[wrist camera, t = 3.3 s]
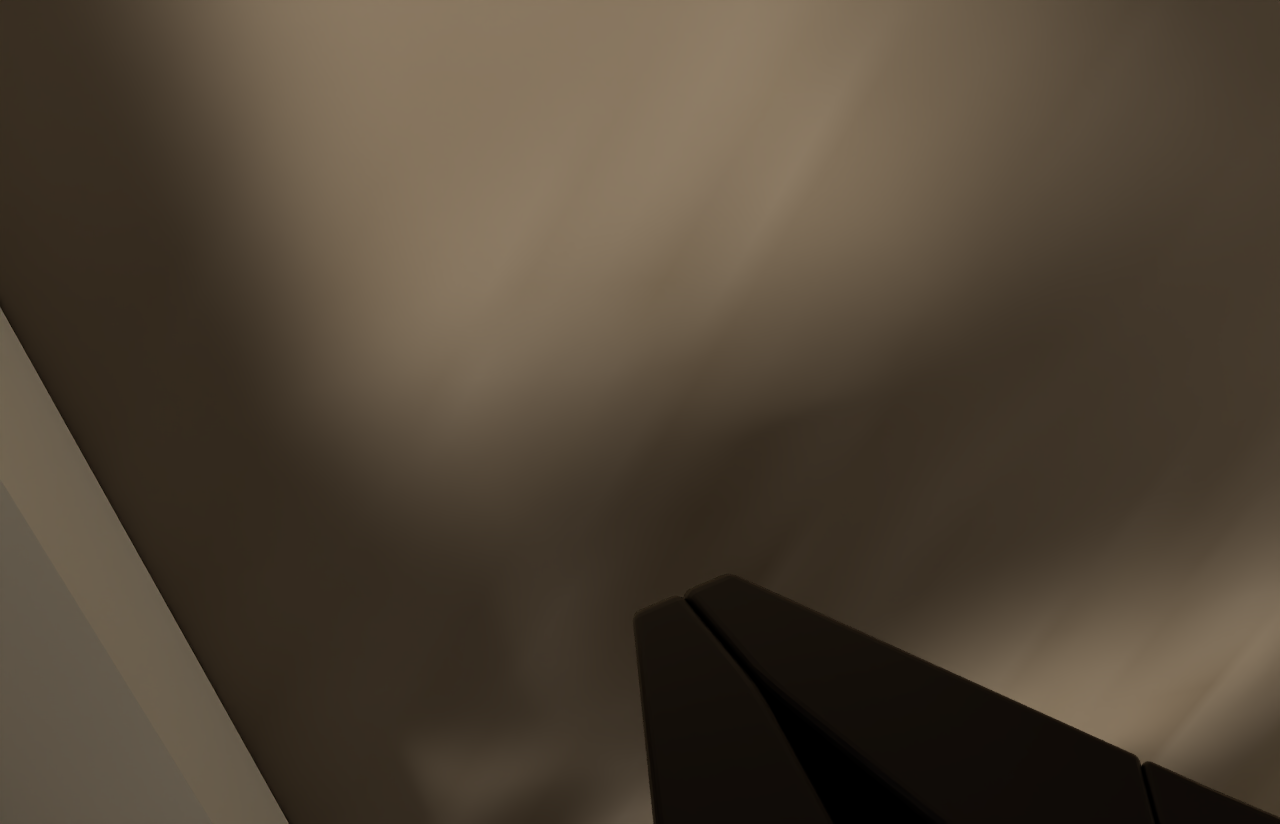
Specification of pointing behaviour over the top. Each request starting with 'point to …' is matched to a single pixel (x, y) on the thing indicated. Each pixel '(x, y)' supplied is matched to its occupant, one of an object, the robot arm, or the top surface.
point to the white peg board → (96, 651)
